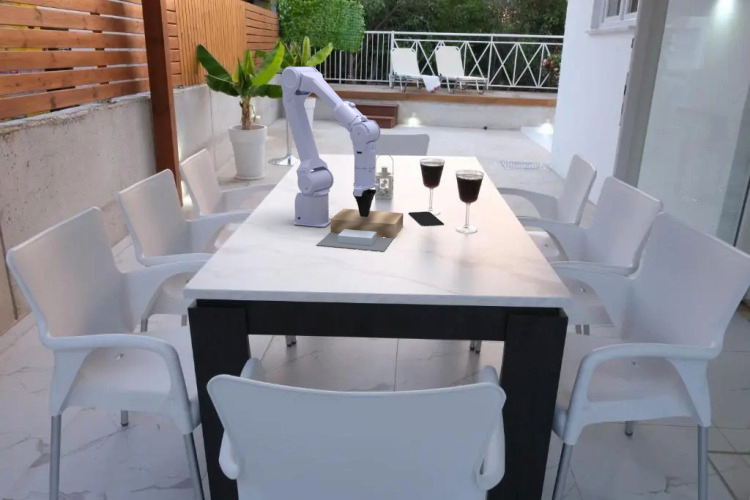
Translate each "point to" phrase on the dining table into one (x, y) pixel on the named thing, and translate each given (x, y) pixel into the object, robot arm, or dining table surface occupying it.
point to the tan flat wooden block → (368, 222)
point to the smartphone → (425, 219)
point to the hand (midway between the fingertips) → (364, 216)
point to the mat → (378, 245)
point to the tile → (357, 237)
